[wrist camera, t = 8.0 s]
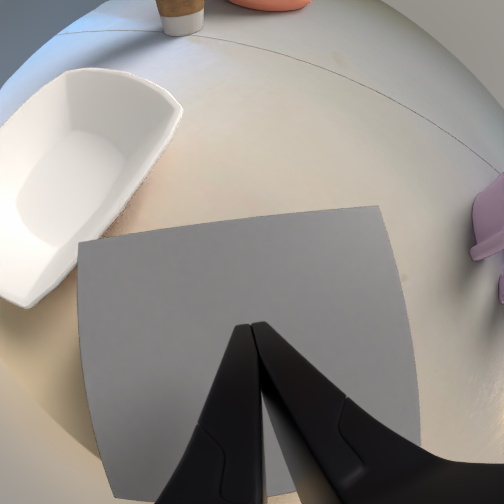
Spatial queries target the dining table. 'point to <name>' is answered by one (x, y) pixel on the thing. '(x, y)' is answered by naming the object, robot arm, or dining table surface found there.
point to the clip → (489, 224)
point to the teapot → (272, 4)
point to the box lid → (223, 322)
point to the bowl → (73, 170)
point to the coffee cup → (181, 16)
